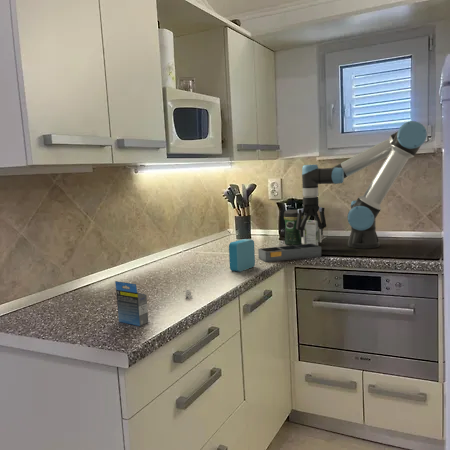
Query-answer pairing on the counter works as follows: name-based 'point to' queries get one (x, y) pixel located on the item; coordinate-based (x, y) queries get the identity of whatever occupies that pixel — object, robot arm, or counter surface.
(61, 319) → the counter surface
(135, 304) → the label tape cartridge
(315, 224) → the syrup box
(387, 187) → the robot arm
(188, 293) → the adhesive hook
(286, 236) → the coffee jar
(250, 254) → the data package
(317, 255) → the rack
